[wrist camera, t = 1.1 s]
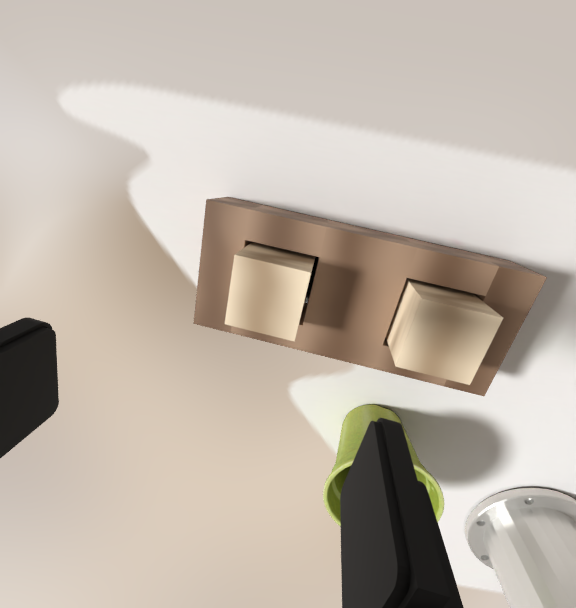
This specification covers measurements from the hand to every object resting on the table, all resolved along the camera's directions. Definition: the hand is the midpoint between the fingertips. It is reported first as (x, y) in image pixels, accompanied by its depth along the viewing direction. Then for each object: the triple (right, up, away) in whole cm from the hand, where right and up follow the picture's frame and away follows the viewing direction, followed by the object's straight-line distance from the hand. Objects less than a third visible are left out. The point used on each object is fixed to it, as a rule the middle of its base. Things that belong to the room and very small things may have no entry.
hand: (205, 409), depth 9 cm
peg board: (+8, +5, +20) cm, 22 cm away
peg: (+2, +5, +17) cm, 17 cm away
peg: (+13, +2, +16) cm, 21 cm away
